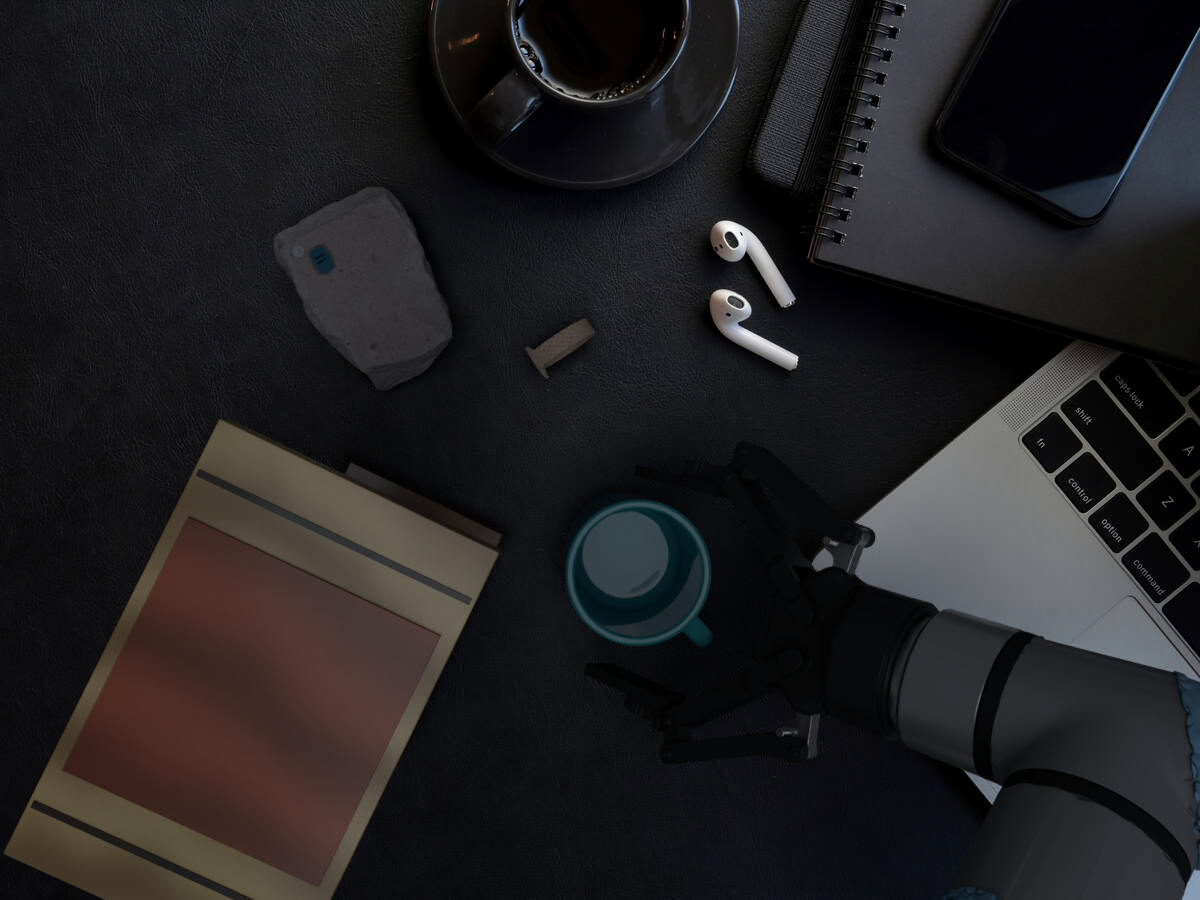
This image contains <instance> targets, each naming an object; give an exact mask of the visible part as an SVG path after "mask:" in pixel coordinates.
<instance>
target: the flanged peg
mask: <svg viewBox="0 0 1200 900" xmlns="http://www.w3.org/2000/svg"><path fill="white" fill-rule="evenodd" d="M594 336H596V330H595V329H594V328H593V326H592V324H591V323H590V321H589V320H588V319H587V318H585V317H584V318H582V319H580V320H577V321H575V322H574V323H571V324H570V325H569V326H567V327H565V328H564V329H562V330H561V331H560V330H559V332H557V333H555V334H554V335H553V336H551V337H549V338H548V339H546V340H545V341H544V342H543V343H541V344H540V345H538V346H537V347H536V348H534V349H533V348H532V347H530V346H528V345H527V346H525V347H524V349H525V352H526V354H528V356H529V358H530V360H531V361H532V362H533V364H534V366H535V367H536V368H537V370H538V372H539V373H540V374H541V376H542V377H543V378H545V379H549V375H548V373H547V370H546V369H547V368H548V367H550V366H552V365H553V364H555V363H557V362H559V361H560V360H562V359H564V358H565V357H566V356H568V355H569V354H571V353H573V352H574V351H575V350H577V349H578V348H579V347H581V346H582V345H584V344H585V343H587V342H588V341H589V340H590V339H592V338H593V337H594Z"/></svg>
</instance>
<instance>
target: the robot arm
mask: <svg viewBox="0 0 1200 900" xmlns="http://www.w3.org/2000/svg"><path fill="white" fill-rule="evenodd" d="M733 453H734V456H733V458H732V460H731V461H730V462H729V463H727V464H726V465H719V464H714V463H711V462H706V461H702V460H697V459H693V458H692V459H688V460H684V462H683V467H682V471H681V474H678V473H675V472H670V471H667V470H662V469H658V468H654V467H649V466H646V465H641V464H637V463H636V464H635V468H634V472H633V476H635V477H639V478H644V479H647V480H651V481H655V482H659V483H662V484H663V483H664V484H666V485H667V484H668V485H670V486H675V487H678V488H682V489H686V490H691V491H695V492H699V493H702V494H706V495H711V496H714V497H718V498H722V499H727V500H729V501H730V503H731V504H732V506H733V507H734V509H735V511H736V513H737V514H738V516H739V518H740V519H741V521H742V523H743V525H744V526H745V528H746V529H747V531H748V533H749V535H750V536H751V538H752V539H753V541H754V543H755V544H756V546H757V548H758V549H759V551H760V553H761V555H762V556H763V558H764V560H765V562H766V564H767V566H766V569H767V572H768V574H769V575H770V577H771V578H772V580H773V582H774V584H775V585H776V588H778V589H777V590H776V592H775V593H774V595H773V596H770V595H769V597H768V600H767V601H768V602H767V605H766V611H765V612H766V616H765V617H766V620H765V625H764V627H763V628H762V630H761V632H760V634H759V637H758V642H757V645H756V649H759V650H760V657H761V660H762V661H761V662H759V663H757V664H755V665H753V666H751V667H749V668H747V669H745V670H743V671H742V672H740V674H739V675H737V676H735V677H733V678H731V679H728V680H727V681H724V682H723V683H721V684H718V685H716V686H715V687H712V688H710V689H708V690H706V691H703V692H701V693H700V694H697V695H695V696H693V697H691V698H689V699H687V695H685V694H683V693H682V692H678V691H676V690H675V689H672V688H669V687H667V686H665V685H663V684H661V683H658V682H656V681H655V680H651V679H650V678H648V677H645V676H643V675H641V674H639V673H636V672H634V671H631V670H629V669H627V668H625V667H622V666H620V665H619V664H615V663H614V662H586V664H585V668H584V672H583V674H584V675H585V676H588V677H590V678H592V679H594V680H595V681H598V682H600V683H603V684H605V685H606V686H608V687H611V688H613V689H615V690H618V691H620V692H622V693H623V694H626V695H625V700H624V705H623V706H624V708H625V709H626V710H627V711H628V712H630V713H631V714H634V715H636V716H638V717H640V718H642V719H643V720H646V721H647V722H650V725H651V727H652V730H654V731H655V732H657V733H662V734H663V735H662V736H663V744H662V746H661V747H660V749H659V759H660V760H661V762H662V763H663V764H665V765H676V764H685V763H686V764H687V763H696V762H706V761H717V760H726V759H737V758H747V757H755V756H767V757H768V756H769V757H771V758H774V759H778V760H781V761H783V762H786V763H790V764H802V763H807V762H813V761H814V762H816V761H818V760H820V759H821V758H822V757H823V755H824V753H825V752H824V745H823V743H822V742H821V741H820V740H819V739H818V732H819V727H820V726H819V725H820V717H821V715H825V716H829V717H831V718H834V719H837V720H839V721H842V722H844V723H846V724H848V725H851V726H853V727H856V728H859V729H861V730H864V731H866V732H868V733H871V734H873V735H875V736H878V737H880V738H883V739H885V740H888V741H891V742H892V741H898V740H901V741H902V742H903V744H904V746H905V747H906V748H908V749H910V750H912V751H914V752H917V753H919V754H922V755H924V756H927V757H929V758H932V759H935V760H936V761H940V762H942V763H945V764H947V765H949V766H951V767H955V768H957V769H959V770H962V771H965V772H967V773H970V774H972V775H975V776H977V777H979V778H982V779H984V780H986V781H989V782H991V783H994V784H995V785H998V786H1000V787H1001V788H1000V790H999V791H998V792H997V794H996V797H995V798H994V800H993V802H992V804H991V806H990V808H989V809H988V811H987V814H986V815H985V818H984V819H983V822H982V823H981V825H980V827H979V829H978V831H977V833H976V835H975V837H974V839H973V841H972V843H971V845H970V846H969V848H968V850H967V852H966V855H965V856H964V858H963V860H962V861H961V864H960V866H959V868H958V869H957V872H956V873H955V875H954V877H953V879H952V881H951V883H950V885H949V887H948V888H947V891H946V893H944V894H943V895H942V897H941V898H940V900H1183V899H1184V896H1185V892H1186V889H1187V887H1188V883H1189V882H1190V880H1191V878H1192V876H1193V873H1194V871H1196V872H1198V871H1199V872H1200V681H1198V680H1196V679H1194V678H1190V677H1188V676H1187V675H1186V674H1185V673H1184V672H1181V671H1177V670H1173V671H1170V670H1167V669H1162V668H1158V667H1155V666H1151V665H1147V664H1143V663H1140V662H1135V661H1131V660H1128V659H1123V658H1121V657H1117V656H1116V657H1115V656H1111V655H1108V654H1104V653H1099V652H1096V651H1092V650H1088V649H1084V648H1080V647H1077V646H1074V645H1073V646H1072V645H1070V644H1066V643H1061V642H1058V641H1053V640H1050V639H1046V638H1045V636H1044V635H1038V634H1035V633H1032V632H1029V631H1024V630H1022V629H1020V628H1018V627H1014V626H1010V625H1008V624H1004V623H1001V622H998V621H997V622H996V621H994V620H990V619H988V618H984V617H981V616H977V615H974V614H970V613H966V612H963V611H960V610H956V609H953V608H944V609H942V610H940V611H939V610H938V607H937V606H936V605H935V604H934V603H932V602H929V601H926V600H923V599H919V598H915V597H913V596H909V595H906V594H902V593H900V592H896V591H893V590H889V589H886V588H882V587H879V586H875V585H872V584H869V583H866V582H865V581H864V580H862V579H861V578H860V577H859V576H858V575H857V574H856V570H857V568H858V565H859V563H860V560H861V557H862V554H863V552H864V549H869V548H871V547H872V546H874V544H875V543H876V538H877V536H876V533H875V531H874V530H873V529H872V528H870V527H868V526H865V525H864V524H860V523H858V522H855V521H853V520H850V519H847V518H845V517H844V516H842V515H841V513H839V512H838V511H837V510H836V509H835V508H834V507H832V506H831V505H830V504H829V502H827V501H826V500H825V499H824V498H823V497H821V496H820V495H819V494H818V493H817V492H816V491H815V490H814V489H812V487H810V486H809V485H808V483H806V482H805V481H804V480H803V479H802V478H801V477H800V476H799V475H797V474H796V473H795V472H794V471H793V470H792V469H790V468H789V467H788V466H787V465H786V464H785V463H784V462H783V461H782V460H781V459H780V458H778V456H776V455H775V454H774V453H773V452H772V451H771V450H770V449H768V448H766V447H764V446H762V445H758V444H755V443H752V442H749V441H746V440H741V441H739V442H737V443H736V444H735V447H734V450H733ZM758 480H759V481H760V482H761V483H763V485H765V486H766V487H767V489H768V490H769V491H771V492H772V493H773V494H774V496H776V497H777V498H778V499H779V500H780V501H781V502H782V503H783V504H785V506H786V507H788V509H790V510H791V512H792V513H794V514H795V515H796V517H798V518H799V519H800V520H802V522H804V524H805V525H806V526H808V527H809V528H810V529H811V530H813V531H815V532H816V533H818V534H820V535H822V536H823V537H822V540H821V542H822V544H823V547H824V549H825V550H826V552H828V553H829V554H830V555H831V557H832V566H831V565H830V566H826V567H823V568H821V569H819V570H817V569H816V568H815V567H814V565H813V563H812V562H811V561H810V560H809V559H808V558H807V557H806V556H805V555H804V554H803V552H802V551H801V549H800V548H799V546H798V545H797V543H796V542H795V540H794V538H793V536H792V535H791V533H790V532H789V530H788V529H787V527H786V526H785V523H784V522H783V520H782V519H781V517H780V515H779V514H778V513H777V511H776V509H775V507H774V506H773V504H772V502H771V501H770V499H769V498H768V496H767V495H766V493H765V491H764V490H763V488H762V487H761V485H760V484H759V482H758ZM777 692H781V693H782V694H783V696H784V697H785V699H786V700H787V702H788V703H789V705H790V706H791V708H792V710H794V711H795V712H796V713H795V716H794V717H793V718H792V719H790V720H783V721H781V722H780V723H778V725H777V728H776V729H775V731H766V732H756V733H747V734H738V735H730V736H721V737H712V738H704V739H696V740H694V733H693V732H694V731H693V729H696V728H698V727H700V726H702V725H704V724H706V723H708V722H711V721H713V720H715V719H717V718H720V717H722V716H724V715H727V714H728V713H730V712H731V713H732V712H733V711H735V710H737V709H739V708H742V707H744V706H746V705H748V704H750V703H753V702H755V701H757V700H759V699H761V698H763V697H765V696H767V695H771V694H774V693H777Z"/></svg>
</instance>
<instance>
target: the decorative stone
mask: <svg viewBox="0 0 1200 900" xmlns="http://www.w3.org/2000/svg"><path fill="white" fill-rule="evenodd" d="M273 251H274V255H275V260H276V262H277V263H278V264H279V265H280V267H281V268H282V269H283V271H284V273H285V274H286V275H287V276H288V279H290V280H291V282H292V283H293V285H294V288H295V289H296V293H297V295H298V296H299V299H300V300H301V302H302V306H303V308H304V313H305V315H306V318H307V319H308V320H309V322H310V323H311V324H312V325H313V326H314V328H315V330H317V331H318V332H319V333H320V335H321V336H322V337H323V338H324V339H325V340H327V342H328V343H329V345H330V346H331V347H333V348H334V349H335V350H336V351H337V352H338V353H340V354H341V355H342V356H343V357H344V359H346V360H347V361H348V362H349V363H350V364H351V365H353V367H355V368H356V369H357V370H359V371H360V372H362V373H363V374H365V375H366V376H367V377H368V378H369V380H370V381H371V382H372V384H373V386H374V387H375V388H376V390H377V391H378V390H379V391H382V392H384V391H385V392H386V391H389V390H390V389H393V388H394V387H396V386H397V385H399V384H402V383H405V382H407V381H409V380H411V379H413V378H416V377H418V376H420V375H422V374H423V373H424V372H425V371H427V370H428V369H429V368H430V366H432V364H433V363H434V361H435V360H436V359H437V358H438V357H439V356H440V354H441V353H442V352H443V351H444V349H445V348H446V347H448V344H449V342H451V340H452V339H453V324H452V321H451V319H450V309H449V306H448V304H447V302H446V300H445V298H444V296H443V295H442V294H441V292H440V290H439V287H438V284H437V282H436V280H435V277H434V275H433V270H432V267H431V264H430V262H429V261H428V259H427V257H426V255H425V249H424V247H423V245H422V243H421V241H420V239H419V236H418V233H417V229H416V226H415V225H414V222H413V220H412V219H411V218H410V216H409V215H408V213H407V210H406V208H405V207H404V205H403V203H402V202H401V201H400V199H398V197H396V196H395V195H394V194H393V192H392V191H391V190H390V189H387V188H385V187H383V186H366V187H365V188H363V189H360V190H358V191H357V192H356V193H354V194H351V195H348V196H347V197H346V196H345V197H344V198H343V199H341V200H338V201H335V202H332V203H329V204H327V205H325V206H324V207H321V208H320V209H319V210H317V211H315V212H314V213H311V214H309V215H307V216H306V217H304V218H302V219H301V220H300V221H298V222H297V223H296V224H295V225H293V226H290V227H287V228H285V229H283V230H282V231H279V232H278V233H277V234H276V235H275V237H274V239H273Z"/></svg>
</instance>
